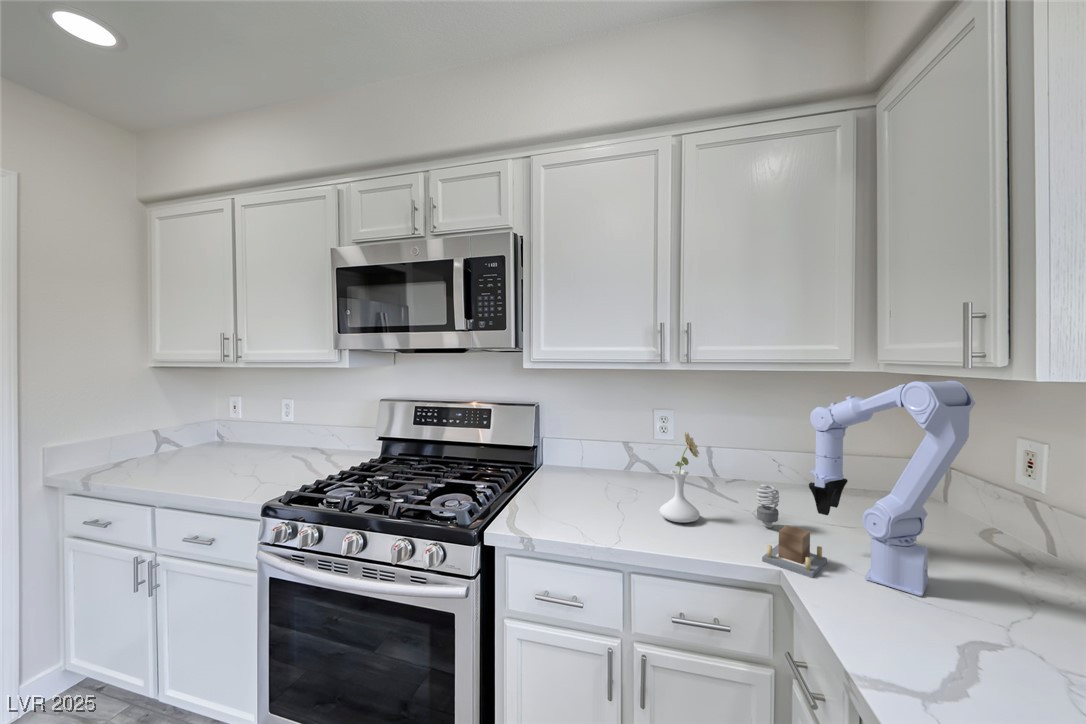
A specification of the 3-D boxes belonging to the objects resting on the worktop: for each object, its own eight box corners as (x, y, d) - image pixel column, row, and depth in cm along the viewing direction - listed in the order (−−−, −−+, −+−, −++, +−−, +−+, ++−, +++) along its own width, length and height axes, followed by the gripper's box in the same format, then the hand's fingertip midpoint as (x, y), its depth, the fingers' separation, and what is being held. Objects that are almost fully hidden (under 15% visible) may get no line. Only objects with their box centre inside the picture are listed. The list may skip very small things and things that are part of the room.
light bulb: (751, 525, 125) (751, 482, 124) (766, 522, 127) (767, 480, 126) (768, 533, 119) (768, 488, 119) (783, 530, 121) (784, 486, 121)
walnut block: (809, 557, 103) (810, 531, 103) (802, 564, 100) (802, 537, 100) (786, 550, 107) (786, 525, 107) (778, 556, 104) (778, 530, 103)
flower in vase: (685, 529, 122) (686, 438, 121) (651, 517, 131) (651, 432, 130) (710, 518, 130) (711, 433, 129) (676, 507, 139) (677, 427, 138)
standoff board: (826, 562, 103) (827, 547, 103) (812, 577, 96) (812, 561, 96) (778, 547, 111) (779, 533, 111) (762, 561, 104) (762, 546, 104)
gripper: (819, 448, 118) (818, 499, 118) (800, 457, 108) (800, 513, 108) (851, 453, 113) (850, 506, 113) (834, 463, 103) (833, 521, 103)
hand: (828, 510), depth 110 cm, fingers open, 7 cm apart
